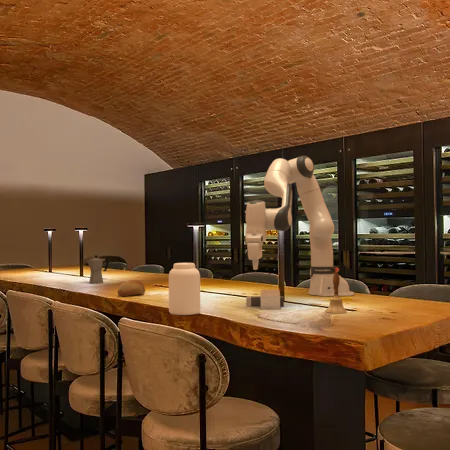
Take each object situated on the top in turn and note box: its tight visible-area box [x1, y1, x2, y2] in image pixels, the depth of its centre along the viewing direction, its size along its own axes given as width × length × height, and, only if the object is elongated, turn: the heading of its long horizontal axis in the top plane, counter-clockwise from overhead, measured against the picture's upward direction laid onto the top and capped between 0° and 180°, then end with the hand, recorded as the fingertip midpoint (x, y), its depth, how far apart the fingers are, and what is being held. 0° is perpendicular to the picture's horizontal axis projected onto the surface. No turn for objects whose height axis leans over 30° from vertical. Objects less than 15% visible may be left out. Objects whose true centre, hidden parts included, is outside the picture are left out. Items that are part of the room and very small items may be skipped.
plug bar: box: [245, 295, 285, 308], centre depth 224 cm, size 16×4×4 cm, turn 85°
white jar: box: [168, 262, 201, 316], centre depth 207 cm, size 12×12×20 cm
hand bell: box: [325, 271, 348, 315], centre depth 205 cm, size 8×8×16 cm
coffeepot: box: [85, 255, 110, 285], centre depth 336 cm, size 15×9×18 cm, turn 125°
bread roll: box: [117, 279, 146, 298], centre depth 266 cm, size 10×15×8 cm, turn 128°
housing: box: [260, 289, 281, 311], centre depth 224 cm, size 8×20×6 cm, turn 175°
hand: (255, 269), depth 224 cm, fingers closed
